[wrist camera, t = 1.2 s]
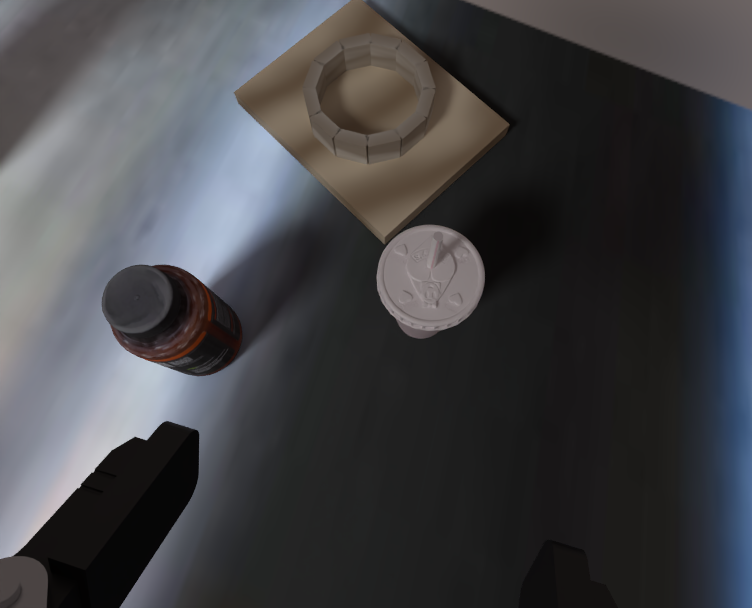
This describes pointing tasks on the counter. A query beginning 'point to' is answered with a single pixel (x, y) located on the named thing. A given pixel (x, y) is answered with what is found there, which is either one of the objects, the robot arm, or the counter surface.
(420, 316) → the smoothie
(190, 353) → the supplement bottle
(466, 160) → the socket board
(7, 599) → the robot arm
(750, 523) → the counter surface
